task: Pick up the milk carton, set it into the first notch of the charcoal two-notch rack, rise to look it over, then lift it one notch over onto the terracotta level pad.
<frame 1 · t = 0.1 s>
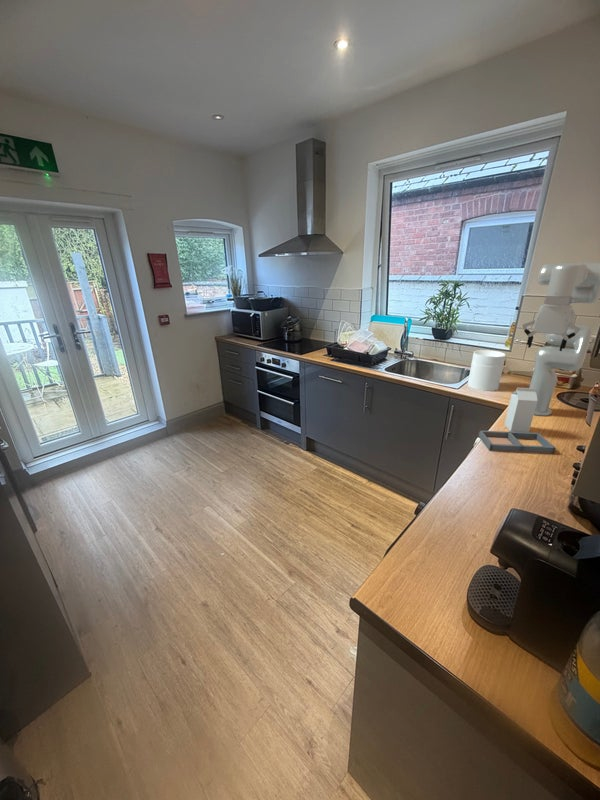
hand: (544, 348, 123), 37 cm above the counter, tool pointing down, fingers open, 9 cm apart
milk carton: (515, 429, 142), on the counter
notch rack: (513, 444, 130), on the counter
canister: (482, 386, 192), on the counter
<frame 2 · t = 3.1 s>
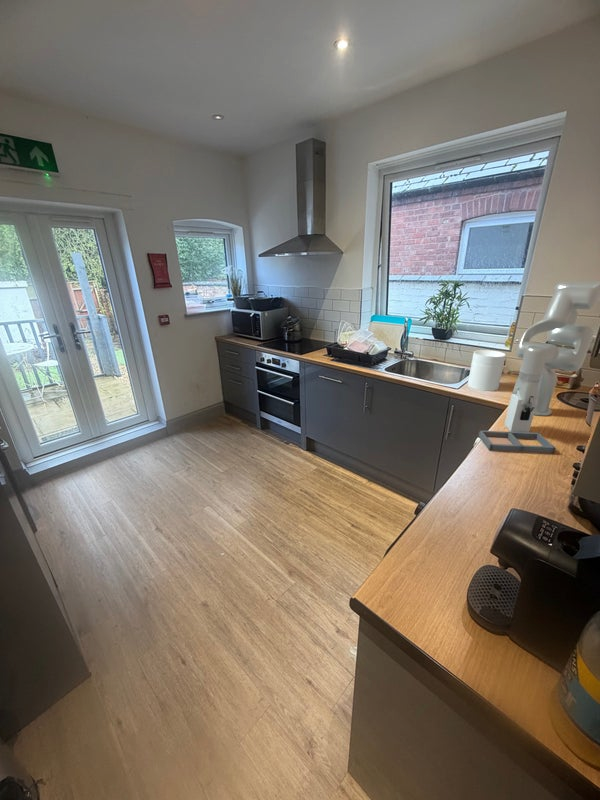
hand: (519, 415, 140), 6 cm above the counter, tool pointing down, fingers closed on milk carton, 7 cm apart
milk carton: (516, 429, 142), on the counter, touching gripper
everything else where it was.
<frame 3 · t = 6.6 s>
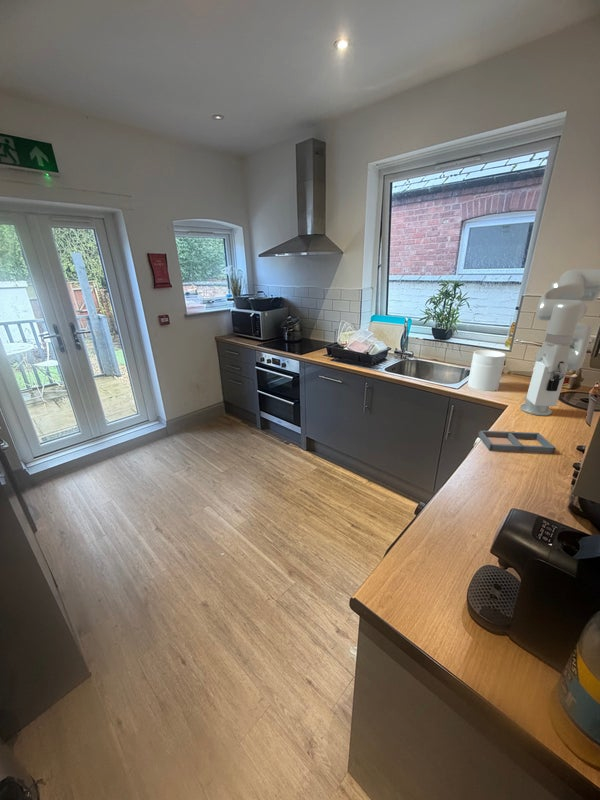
hand: (545, 386, 120), 25 cm above the counter, tool pointing down, fingers closed on milk carton, 7 cm apart
milk carton: (540, 402, 123), point 18 cm above the counter, touching gripper
everything else where it was.
when the fingers open (8 cm above the counter, at t = 10.1 s): milk carton drops 1 cm, resting in notch rack.
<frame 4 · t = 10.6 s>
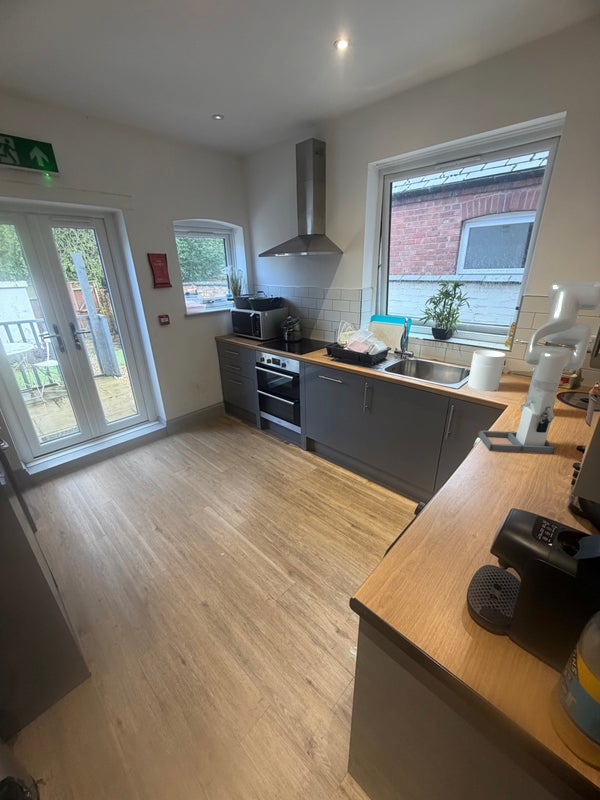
hand: (534, 426, 126), 8 cm above the counter, tool pointing down, fingers open, 9 cm apart
milk carton: (528, 445, 130), resting in notch rack
everything else where it was.
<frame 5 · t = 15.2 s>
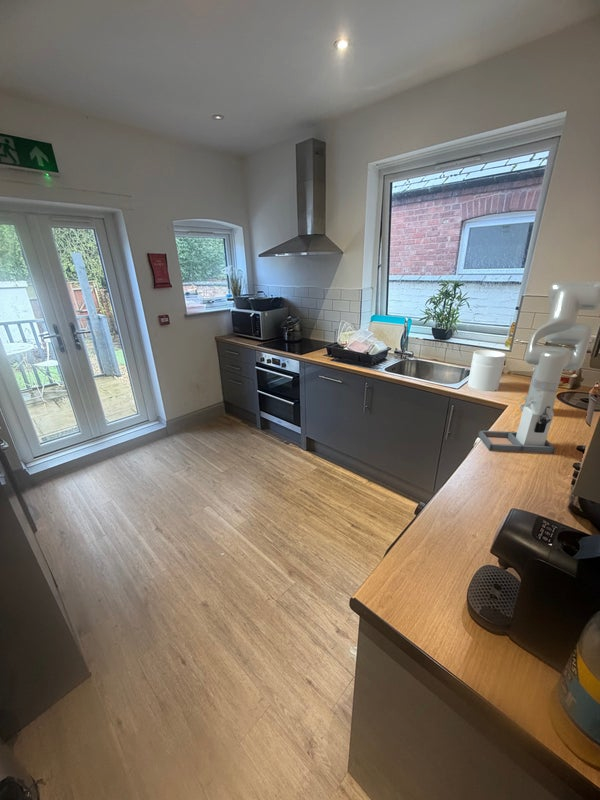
hand: (533, 427, 126), 8 cm above the counter, tool pointing down, fingers closed on milk carton, 7 cm apart
milk carton: (528, 445, 130), resting in notch rack, touching gripper
everything else where it was.
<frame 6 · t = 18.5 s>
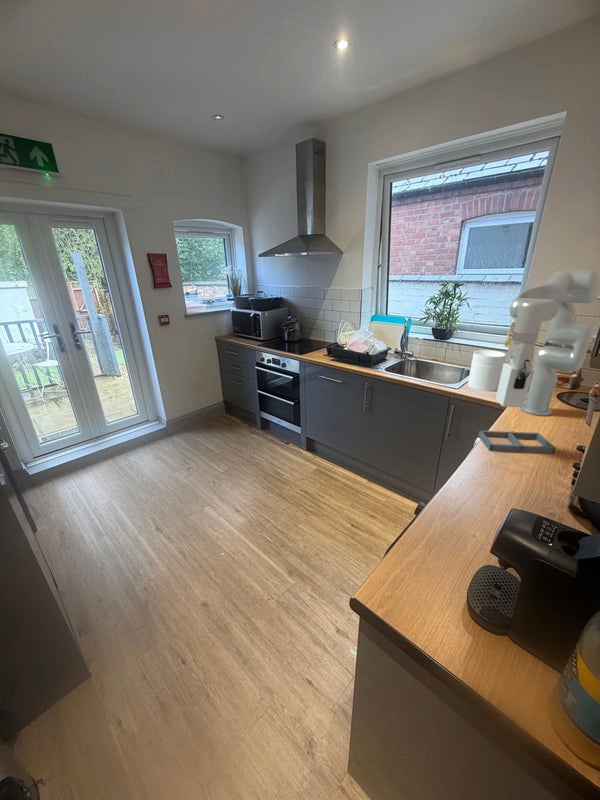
hand: (513, 384, 121), 25 cm above the counter, tool pointing down, fingers closed on milk carton, 7 cm apart
milk carton: (508, 404, 124), point 17 cm above the counter, touching gripper
everything else where it was.
when the fingers open (8 cm above the counter, at t = 22.2 s): milk carton stays where it is, resting on notch rack.
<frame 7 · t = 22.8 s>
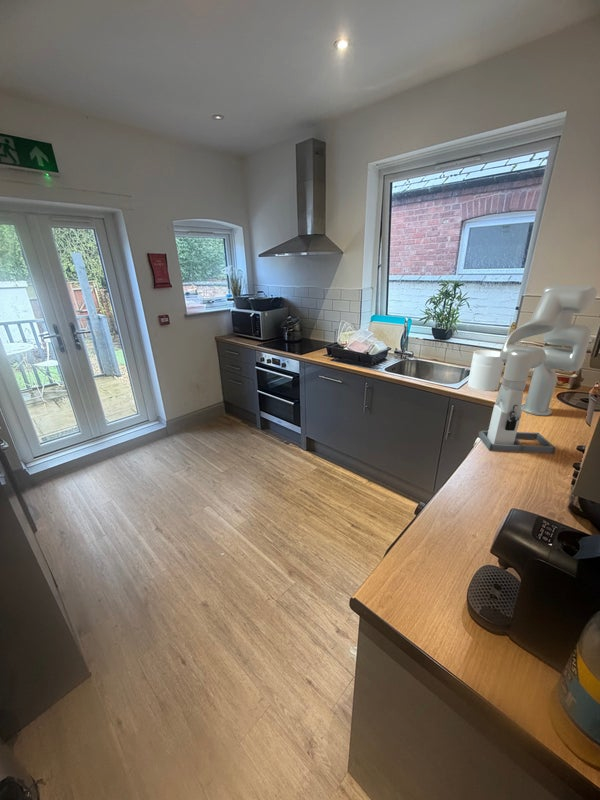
hand: (503, 424, 128), 9 cm above the counter, tool pointing down, fingers open, 9 cm apart
milk carton: (499, 443, 131), resting on notch rack
everything else where it was.
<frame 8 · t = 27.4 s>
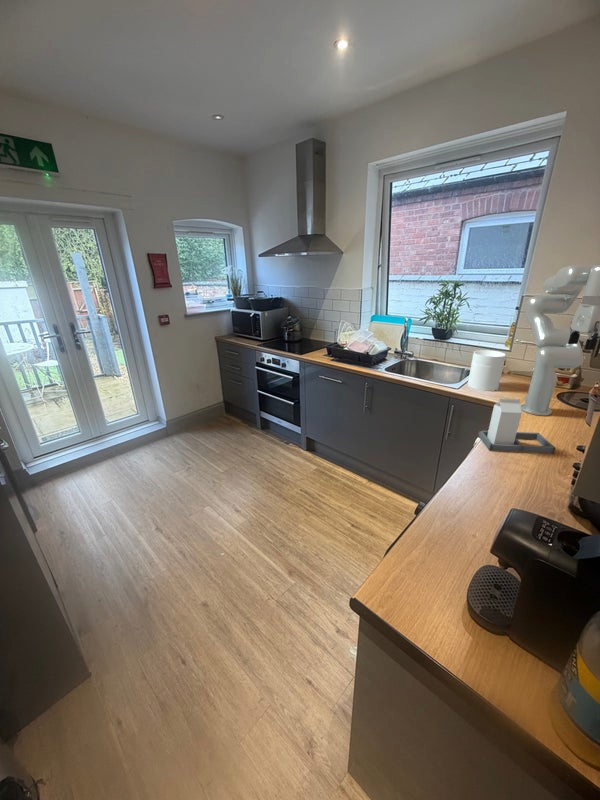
hand: (580, 346, 127), 36 cm above the counter, tool pointing down, fingers open, 9 cm apart
nothing on the counter moved.
at the end: milk carton 0.2 cm from the target spot on the notch rack, point 0.1 cm above the notch rack's base; milk carton tilted 0°; the gripper is holding nothing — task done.
